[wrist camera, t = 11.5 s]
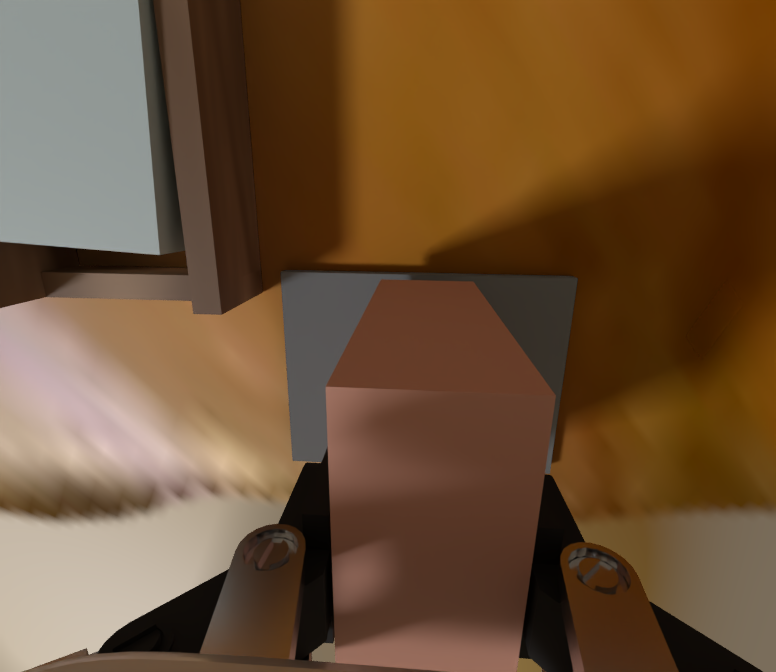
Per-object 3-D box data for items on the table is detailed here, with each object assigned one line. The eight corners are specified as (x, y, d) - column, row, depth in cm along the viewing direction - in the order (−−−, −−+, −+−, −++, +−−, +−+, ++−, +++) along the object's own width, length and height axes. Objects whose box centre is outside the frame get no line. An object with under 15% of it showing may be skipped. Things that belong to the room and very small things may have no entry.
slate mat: (572, 275, 17) (578, 278, 17) (545, 466, 20) (549, 473, 19) (284, 270, 18) (280, 271, 17) (296, 453, 21) (292, 460, 20)
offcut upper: (183, -3, 14) (133, -49, 11) (198, 248, 16) (159, 255, 14) (6, -14, 14) (-80, -60, 11) (46, 235, 16) (-18, 240, 14)
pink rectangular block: (473, 281, 16) (556, 395, 6) (458, 484, 18) (501, 779, 9) (380, 279, 16) (325, 386, 7) (379, 479, 19) (339, 763, 9)
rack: (233, -80, 14) (167, -182, 11) (262, 292, 18) (221, 314, 14) (-181, -66, 15) (-378, -156, 12) (-72, 284, 19) (-192, 302, 15)
